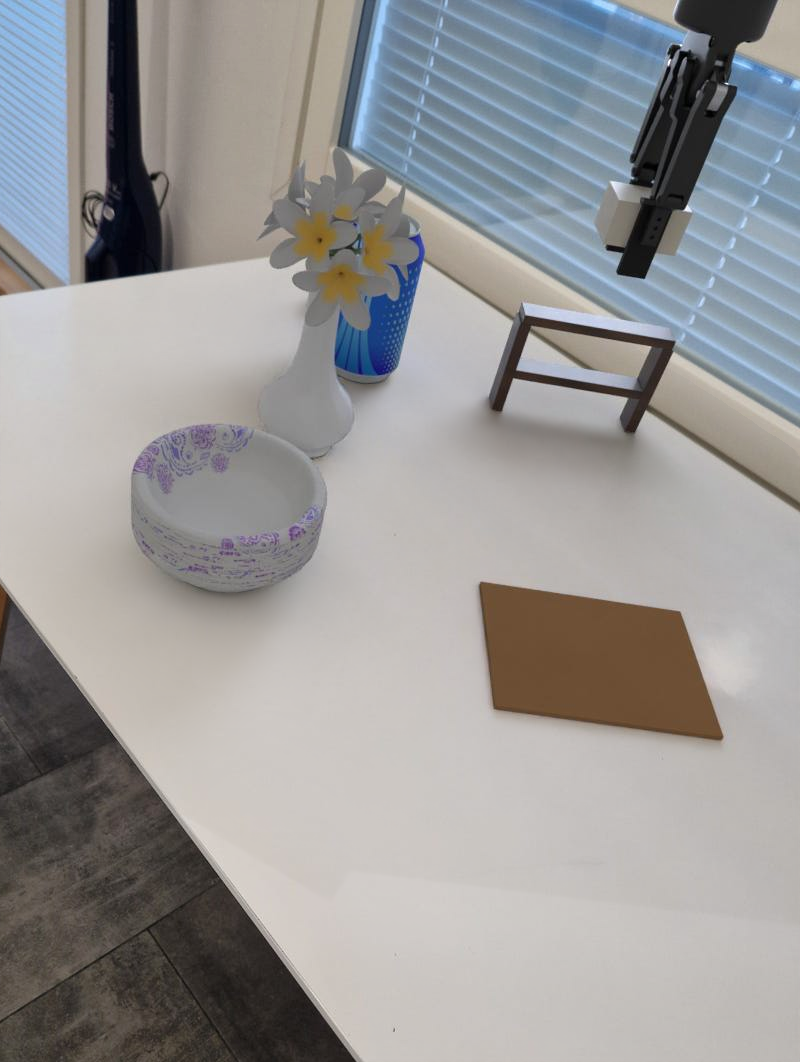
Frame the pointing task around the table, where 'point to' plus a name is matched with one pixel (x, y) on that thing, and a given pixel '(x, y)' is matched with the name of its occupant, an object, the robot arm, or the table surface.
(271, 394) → the flower vase
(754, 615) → the table surface
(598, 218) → the white cardboard box
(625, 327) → the rack
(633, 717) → the mat
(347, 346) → the beer can
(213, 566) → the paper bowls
